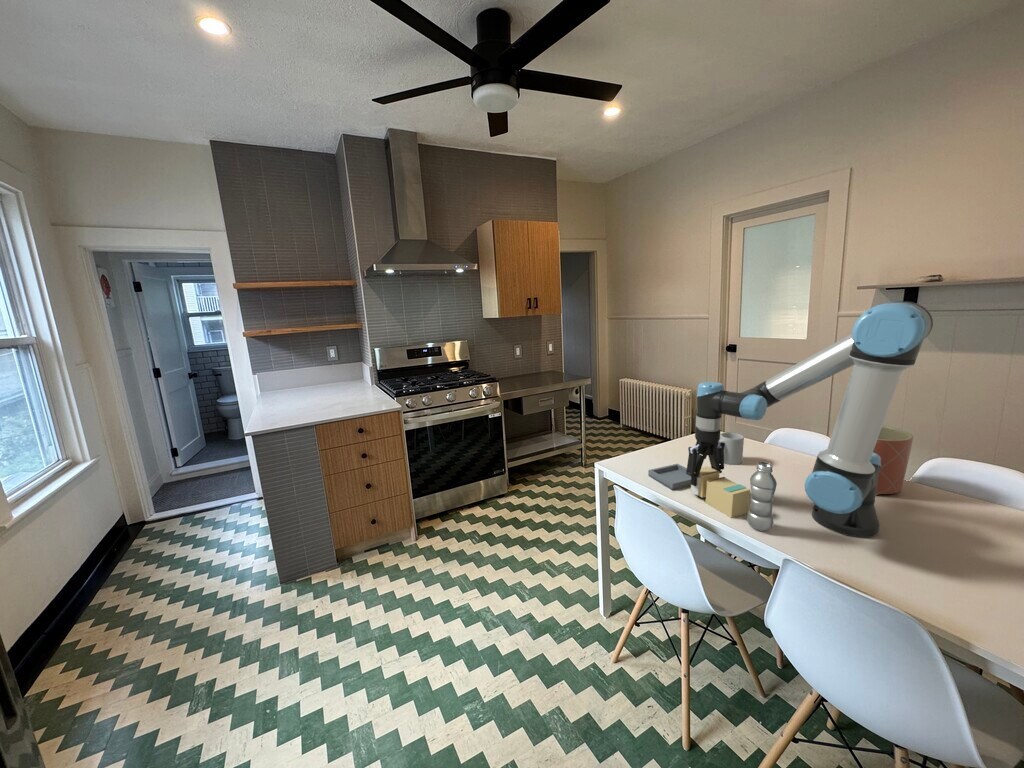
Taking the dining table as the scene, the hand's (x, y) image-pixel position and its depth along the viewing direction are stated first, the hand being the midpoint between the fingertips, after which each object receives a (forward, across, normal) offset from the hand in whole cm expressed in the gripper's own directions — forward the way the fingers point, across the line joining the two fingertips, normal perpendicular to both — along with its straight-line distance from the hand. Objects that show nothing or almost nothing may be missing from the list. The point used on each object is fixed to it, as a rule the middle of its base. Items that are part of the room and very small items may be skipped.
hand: (704, 491), depth 134 cm
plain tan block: (0, 0, 0) cm, 0 cm away
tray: (+2, 0, -14) cm, 14 cm away
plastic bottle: (+2, 0, +21) cm, 21 cm away
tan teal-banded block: (+2, 0, +9) cm, 9 cm away
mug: (+2, -31, -18) cm, 35 cm away
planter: (+2, -56, +17) cm, 58 cm away
